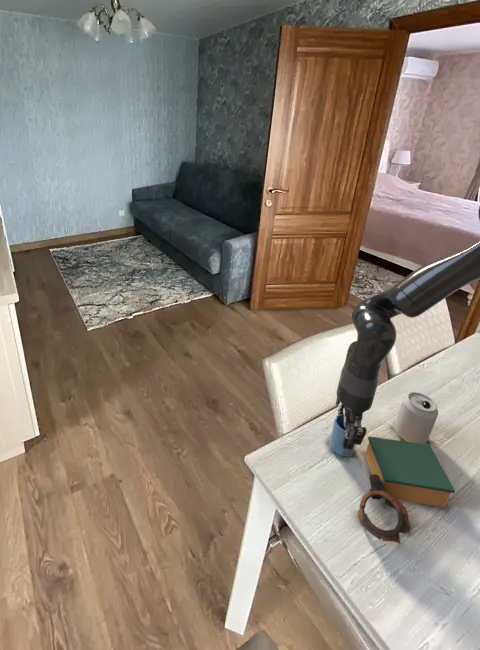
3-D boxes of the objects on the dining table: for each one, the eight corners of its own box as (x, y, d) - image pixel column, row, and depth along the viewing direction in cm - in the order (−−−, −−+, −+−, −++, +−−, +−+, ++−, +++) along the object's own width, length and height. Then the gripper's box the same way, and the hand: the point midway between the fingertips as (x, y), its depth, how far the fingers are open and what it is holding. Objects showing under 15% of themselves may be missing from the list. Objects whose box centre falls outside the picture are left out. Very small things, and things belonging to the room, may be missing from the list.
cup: (349, 438, 89) (355, 415, 86) (356, 458, 84) (363, 435, 81) (327, 435, 90) (332, 412, 87) (332, 454, 85) (338, 431, 82)
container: (422, 462, 84) (429, 445, 81) (446, 509, 74) (455, 490, 72) (363, 453, 86) (368, 436, 83) (378, 497, 76) (385, 479, 74)
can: (423, 453, 86) (437, 418, 81) (389, 435, 90) (401, 401, 86) (428, 434, 91) (442, 399, 86) (396, 417, 95) (408, 384, 91)
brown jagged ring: (422, 549, 68) (419, 537, 63) (371, 553, 70) (365, 542, 66) (393, 479, 77) (388, 465, 73) (349, 485, 80) (342, 472, 76)
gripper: (387, 411, 72) (369, 466, 79) (364, 364, 85) (351, 415, 92) (349, 406, 73) (335, 461, 80) (332, 361, 86) (321, 411, 93)
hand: (343, 436), depth 86 cm, fingers closed on cup, 5 cm apart
